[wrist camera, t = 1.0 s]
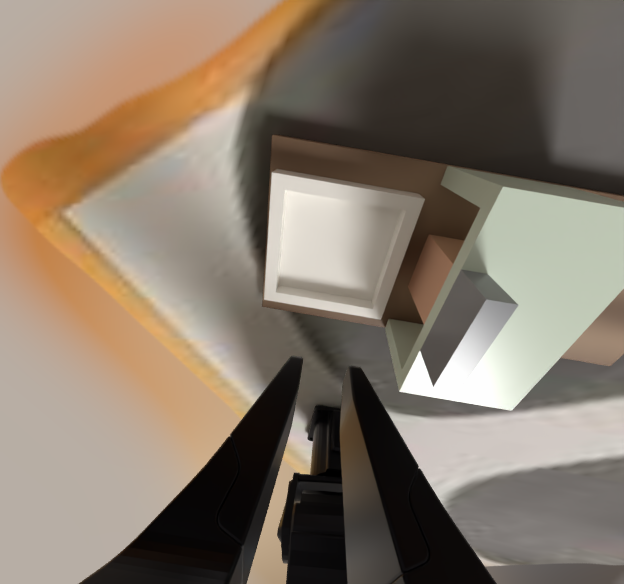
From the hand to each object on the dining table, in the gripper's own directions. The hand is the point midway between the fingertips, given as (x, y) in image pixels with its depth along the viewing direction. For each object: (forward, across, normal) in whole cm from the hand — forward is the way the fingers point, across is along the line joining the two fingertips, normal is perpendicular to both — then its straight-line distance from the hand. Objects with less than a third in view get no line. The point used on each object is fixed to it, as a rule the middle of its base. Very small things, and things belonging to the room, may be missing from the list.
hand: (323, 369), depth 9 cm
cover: (+11, -9, 0) cm, 14 cm away
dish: (+11, 0, 0) cm, 11 cm away
